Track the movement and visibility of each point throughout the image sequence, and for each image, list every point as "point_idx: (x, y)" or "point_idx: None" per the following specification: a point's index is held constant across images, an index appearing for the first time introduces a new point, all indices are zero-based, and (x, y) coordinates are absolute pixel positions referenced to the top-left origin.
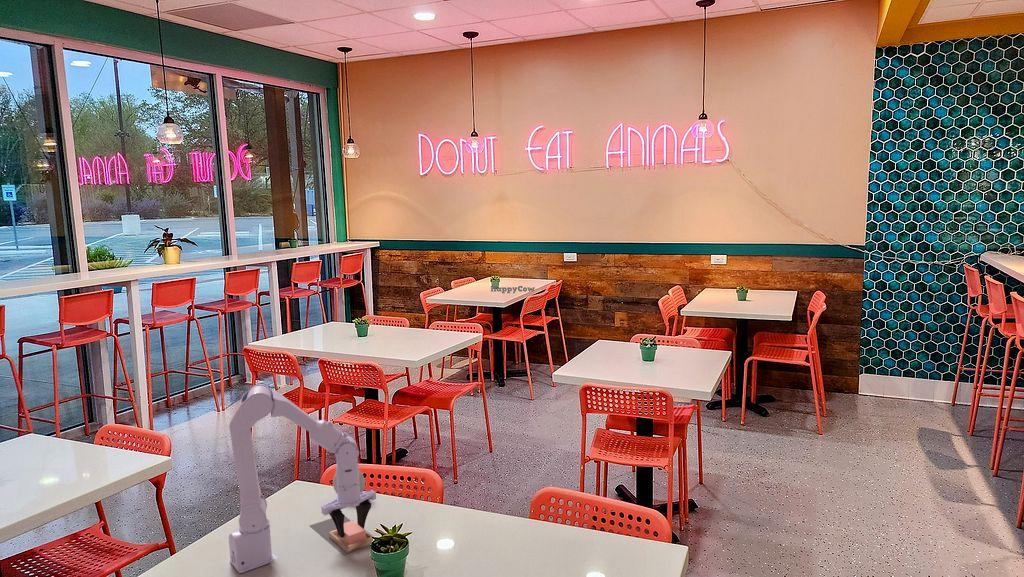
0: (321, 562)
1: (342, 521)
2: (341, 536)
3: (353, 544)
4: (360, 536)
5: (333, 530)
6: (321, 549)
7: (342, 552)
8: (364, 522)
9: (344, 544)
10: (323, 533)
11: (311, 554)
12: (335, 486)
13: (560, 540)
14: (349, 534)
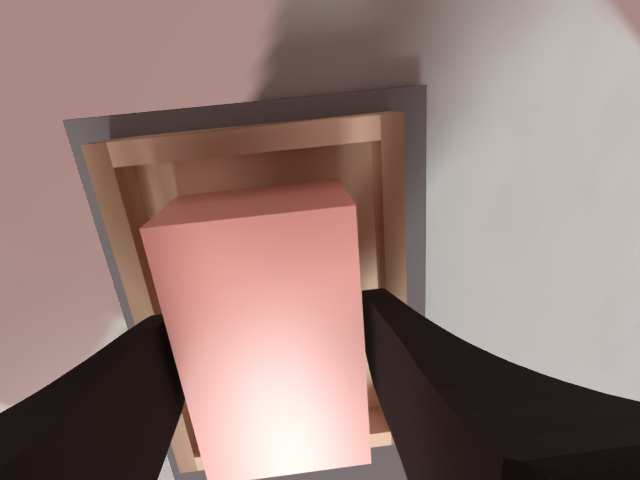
0: (579, 133)
1: (458, 378)
2: (390, 293)
3: (326, 126)
4: (220, 207)
5: (332, 477)
6: (484, 313)
7: (413, 149)
8: (103, 351)
9: (398, 181)
10: (399, 472)
11: (564, 287)
12: None
13: None
14: (338, 238)
